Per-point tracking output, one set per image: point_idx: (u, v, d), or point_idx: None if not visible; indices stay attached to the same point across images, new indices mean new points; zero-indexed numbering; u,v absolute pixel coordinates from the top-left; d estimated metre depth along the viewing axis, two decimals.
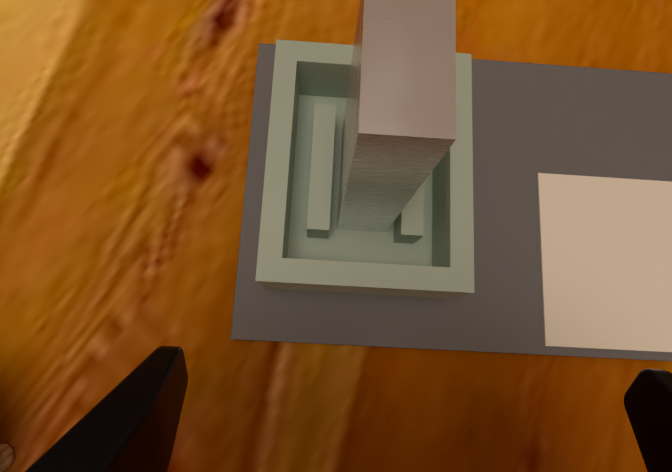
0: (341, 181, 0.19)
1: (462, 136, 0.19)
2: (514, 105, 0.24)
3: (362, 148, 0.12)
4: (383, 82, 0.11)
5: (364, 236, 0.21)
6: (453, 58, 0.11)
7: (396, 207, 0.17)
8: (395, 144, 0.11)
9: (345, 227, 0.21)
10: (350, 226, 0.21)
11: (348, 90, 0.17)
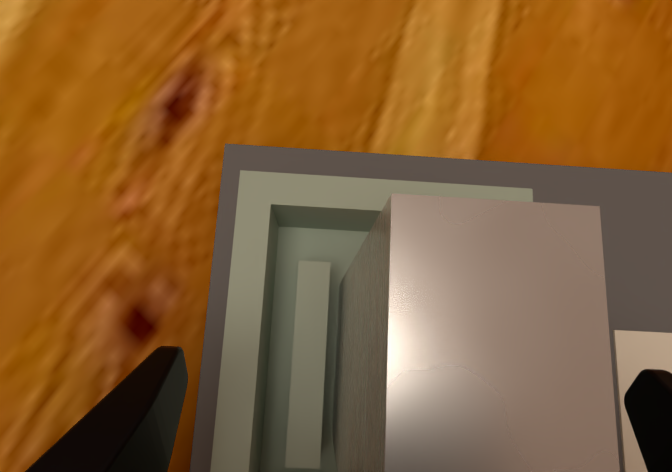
0: (338, 399, 0.12)
1: None
2: None
3: None
4: None
5: None
6: (612, 468, 0.04)
7: None
8: None
9: None
10: None
11: (349, 283, 0.11)
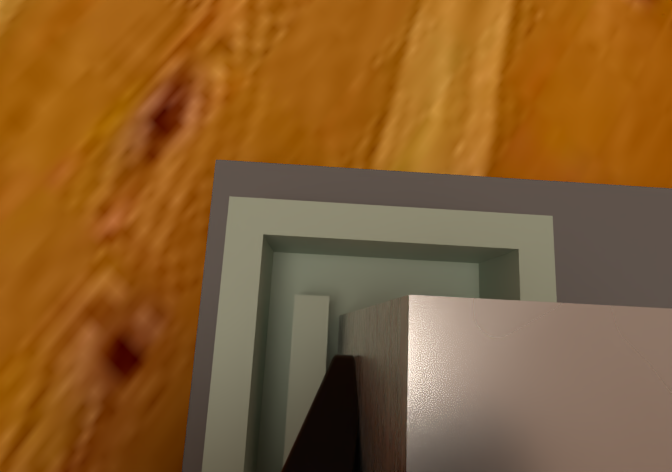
0: None
1: None
2: (596, 252, 0.16)
3: None
4: None
5: None
6: None
7: None
8: None
9: None
10: None
11: (350, 333, 0.09)
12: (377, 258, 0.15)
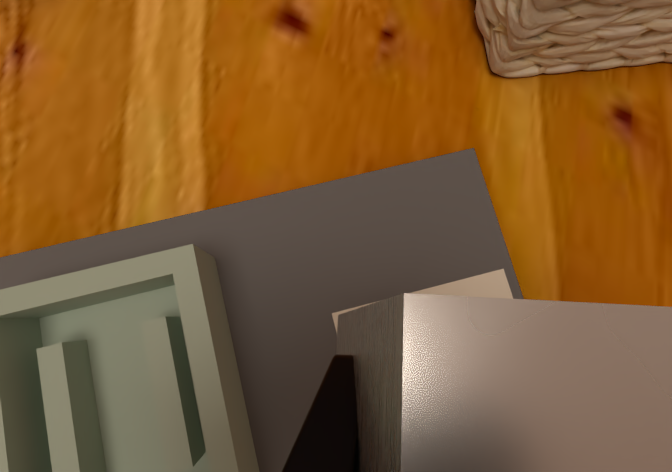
0: None
1: (202, 347, 0.17)
2: (291, 242, 0.22)
3: None
4: None
5: (148, 463, 0.19)
6: None
7: None
8: None
9: None
10: None
11: (348, 332, 0.09)
12: (117, 299, 0.20)
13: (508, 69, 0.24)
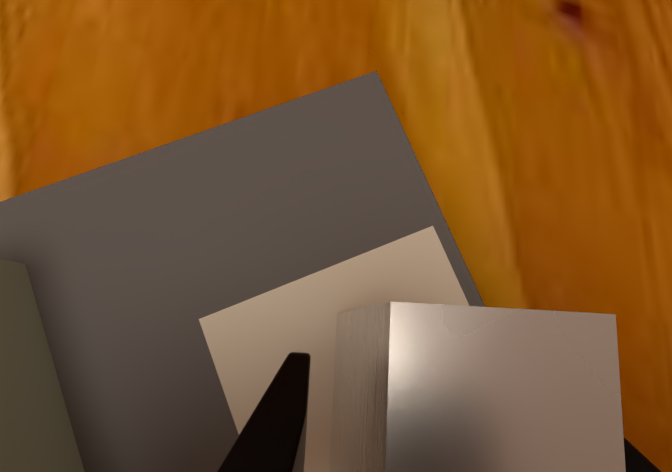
0: (335, 441, 0.12)
1: None
2: (134, 229, 0.16)
3: None
4: None
5: None
6: None
7: None
8: None
9: None
10: None
11: (347, 330, 0.10)
12: None
13: None
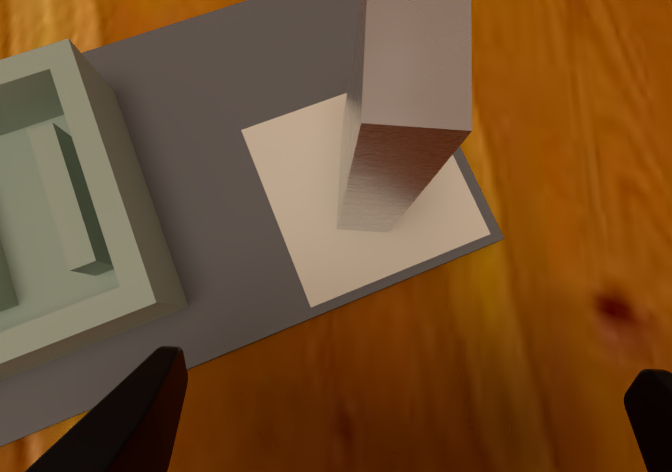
0: (341, 178, 0.18)
1: (87, 135, 0.16)
2: (192, 69, 0.21)
3: (365, 141, 0.10)
4: (390, 66, 0.10)
5: (59, 284, 0.18)
6: (468, 39, 0.10)
7: (401, 206, 0.16)
8: (402, 136, 0.10)
9: (345, 227, 0.20)
10: (351, 226, 0.19)
11: (349, 80, 0.16)
12: (11, 132, 0.19)
13: None
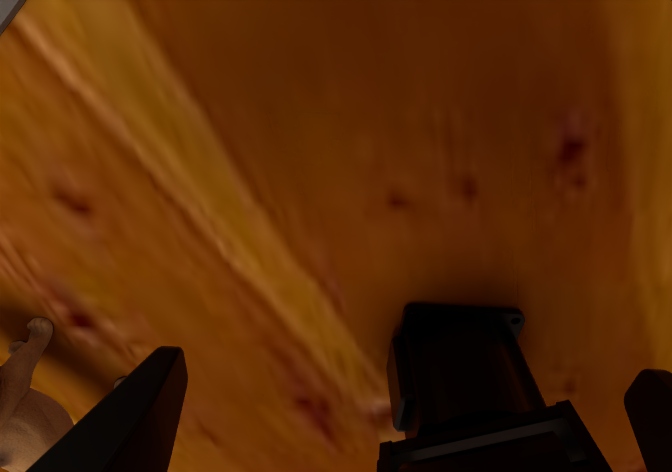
0: None
1: None
2: None
3: None
4: None
5: None
6: None
7: None
8: None
9: None
10: None
11: None
12: None
13: None
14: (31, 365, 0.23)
